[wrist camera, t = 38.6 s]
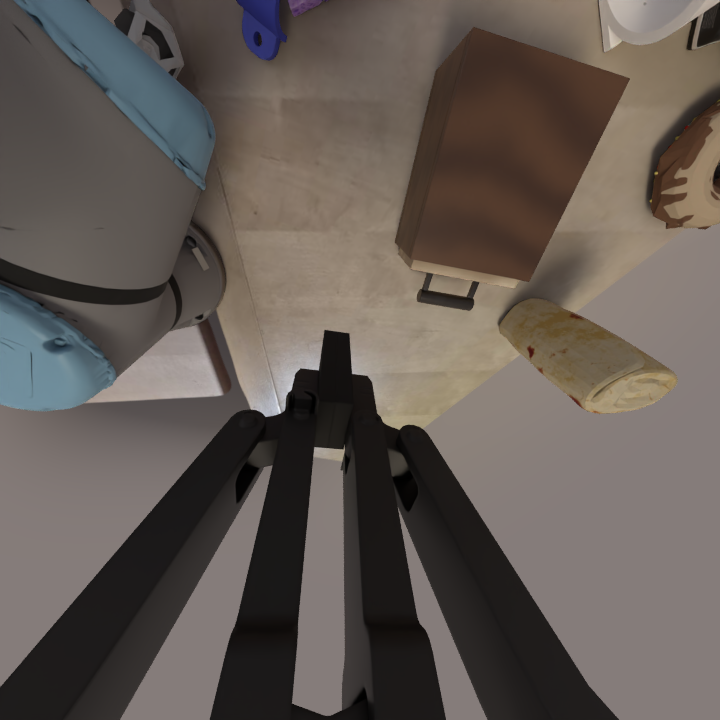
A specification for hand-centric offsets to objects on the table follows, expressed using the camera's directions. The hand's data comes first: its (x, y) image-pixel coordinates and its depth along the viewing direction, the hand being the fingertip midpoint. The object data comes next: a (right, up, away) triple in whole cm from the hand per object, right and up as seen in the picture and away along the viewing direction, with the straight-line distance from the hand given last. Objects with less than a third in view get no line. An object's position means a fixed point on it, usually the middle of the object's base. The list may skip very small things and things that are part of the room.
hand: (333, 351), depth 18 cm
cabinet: (+15, +21, +17) cm, 31 cm away
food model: (+27, +6, +27) cm, 39 cm away
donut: (+43, +21, +13) cm, 50 cm away
